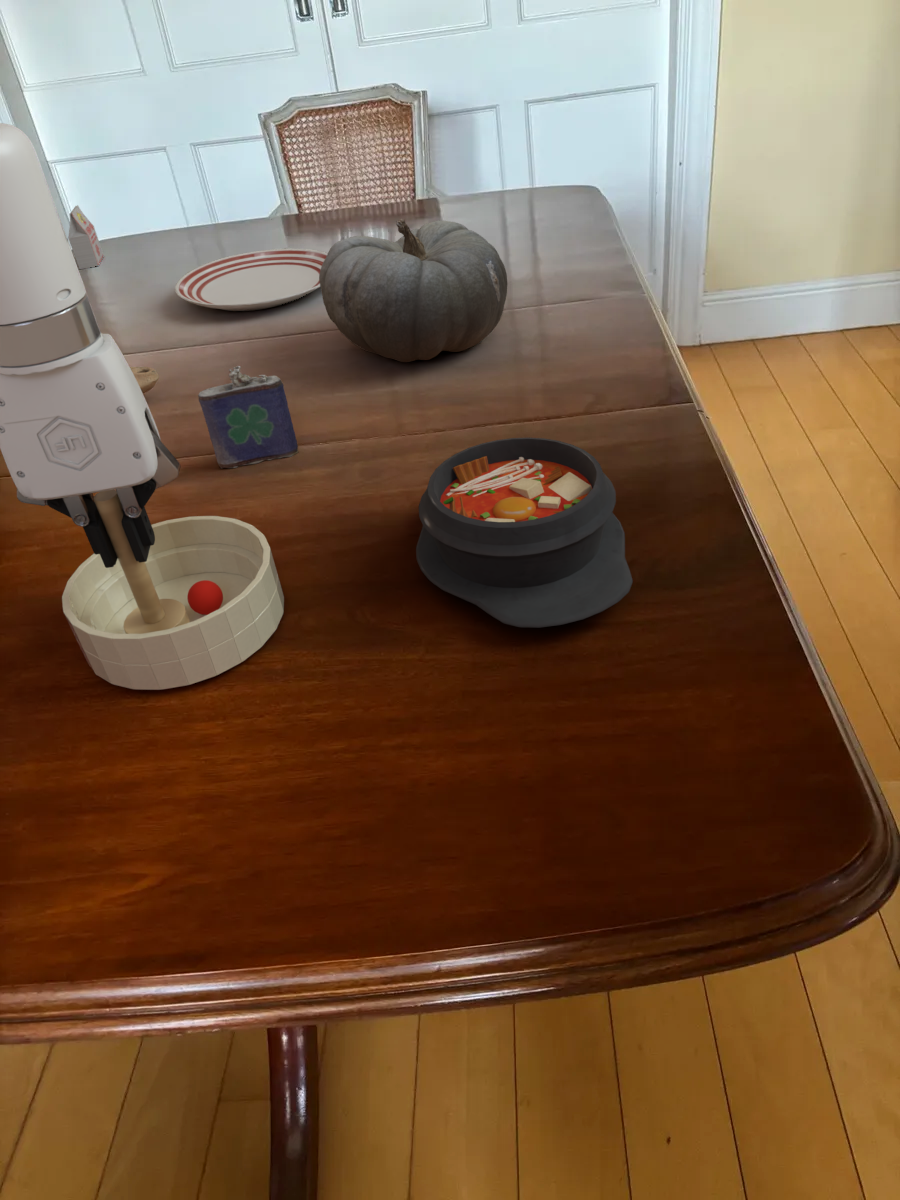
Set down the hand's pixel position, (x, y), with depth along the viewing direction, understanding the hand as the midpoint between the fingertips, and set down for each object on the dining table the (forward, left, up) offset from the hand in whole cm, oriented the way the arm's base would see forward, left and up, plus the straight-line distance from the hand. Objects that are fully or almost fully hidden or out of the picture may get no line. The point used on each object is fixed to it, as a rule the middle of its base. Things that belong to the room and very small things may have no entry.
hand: (128, 553), depth 71 cm
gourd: (+29, +59, -9) cm, 66 cm away
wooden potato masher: (0, 0, -8) cm, 8 cm away
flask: (+7, +32, -9) cm, 34 cm away
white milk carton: (-30, +127, -9) cm, 130 cm away
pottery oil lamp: (-13, +53, -9) cm, 55 cm away
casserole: (+32, +4, -9) cm, 33 cm away
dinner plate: (+5, +92, -9) cm, 92 cm away
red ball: (+4, +3, -7) cm, 9 cm away
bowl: (+2, +2, -9) cm, 10 cm away
